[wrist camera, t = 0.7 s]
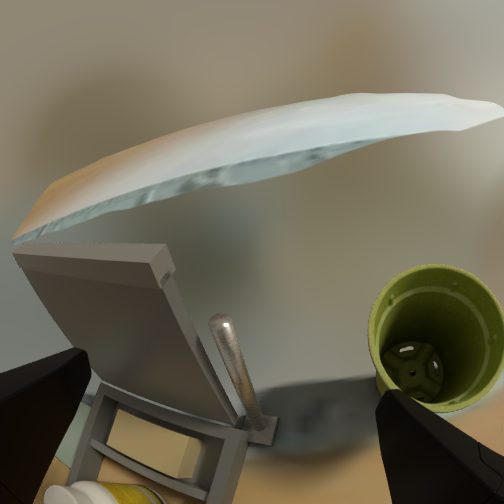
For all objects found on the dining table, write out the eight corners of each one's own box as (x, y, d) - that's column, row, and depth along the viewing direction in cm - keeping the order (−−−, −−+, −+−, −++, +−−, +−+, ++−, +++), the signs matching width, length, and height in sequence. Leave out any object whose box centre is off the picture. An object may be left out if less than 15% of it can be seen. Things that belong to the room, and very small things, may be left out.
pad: (82, 475, 17) (79, 475, 17) (41, 441, 20) (38, 441, 19) (102, 413, 22) (99, 412, 22) (59, 387, 25) (57, 386, 24)
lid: (149, 262, 9) (166, 243, 10) (11, 253, 14) (23, 243, 15) (233, 426, 17) (239, 411, 18) (101, 380, 21) (107, 371, 22)
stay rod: (273, 446, 18) (214, 428, 9) (243, 440, 19) (160, 411, 10) (286, 388, 21) (247, 312, 12) (258, 384, 22) (197, 307, 13)
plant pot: (361, 442, 16) (383, 433, 10) (347, 336, 23) (353, 276, 17) (467, 410, 15) (525, 378, 9) (442, 315, 21) (475, 252, 15)
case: (204, 583, 9) (188, 594, 7) (79, 515, 14) (56, 513, 11) (251, 433, 19) (240, 429, 17) (118, 391, 24) (98, 380, 21)
